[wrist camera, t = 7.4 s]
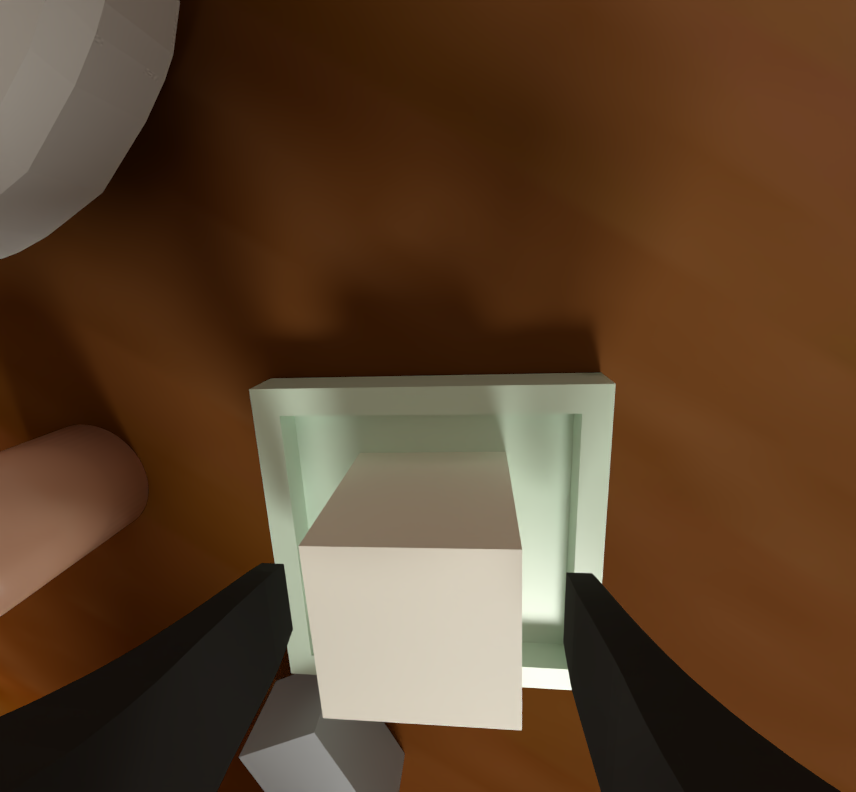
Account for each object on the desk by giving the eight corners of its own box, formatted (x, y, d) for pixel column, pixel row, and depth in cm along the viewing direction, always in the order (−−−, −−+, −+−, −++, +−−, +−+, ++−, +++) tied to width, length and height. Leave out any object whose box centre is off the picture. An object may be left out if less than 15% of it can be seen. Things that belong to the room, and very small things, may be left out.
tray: (584, 655, 15) (594, 691, 14) (306, 641, 17) (291, 673, 15) (601, 372, 13) (615, 383, 12) (271, 378, 14) (249, 389, 13)
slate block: (405, 749, 18) (391, 841, 15) (342, 768, 18) (317, 860, 16) (341, 654, 17) (314, 732, 14) (277, 677, 17) (238, 757, 15)
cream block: (506, 580, 15) (522, 730, 10) (372, 577, 15) (323, 718, 10) (505, 451, 13) (522, 549, 9) (359, 452, 14) (298, 546, 9)
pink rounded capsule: (158, 529, 16) (22, 638, 11) (58, 527, 16) (-114, 631, 12) (135, 424, 15) (-25, 494, 10) (28, 424, 15) (-173, 491, 11)
